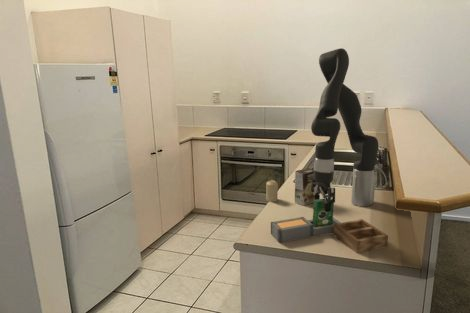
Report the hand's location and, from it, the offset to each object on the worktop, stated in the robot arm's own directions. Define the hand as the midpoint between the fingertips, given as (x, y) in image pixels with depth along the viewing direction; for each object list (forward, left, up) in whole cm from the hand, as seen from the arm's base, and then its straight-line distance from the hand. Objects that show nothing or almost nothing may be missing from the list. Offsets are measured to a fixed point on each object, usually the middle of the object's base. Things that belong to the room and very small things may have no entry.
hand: (321, 207), depth 142 cm
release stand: (+7, 0, -9) cm, 12 cm away
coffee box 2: (0, 0, -10) cm, 10 cm away
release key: (+14, 0, -9) cm, 16 cm away
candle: (+6, -38, -10) cm, 39 cm away
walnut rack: (-8, +13, -10) cm, 18 cm away
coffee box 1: (-8, -29, -10) cm, 31 cm away
